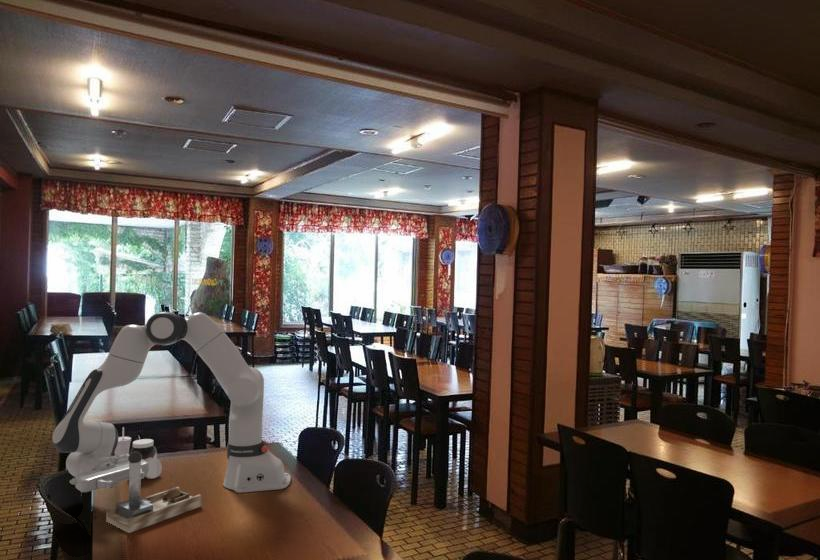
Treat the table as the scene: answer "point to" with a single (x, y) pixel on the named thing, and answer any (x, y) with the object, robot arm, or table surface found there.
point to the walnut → (173, 494)
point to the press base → (155, 511)
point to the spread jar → (148, 456)
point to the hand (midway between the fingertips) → (127, 480)
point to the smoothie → (123, 445)
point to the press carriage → (134, 491)
